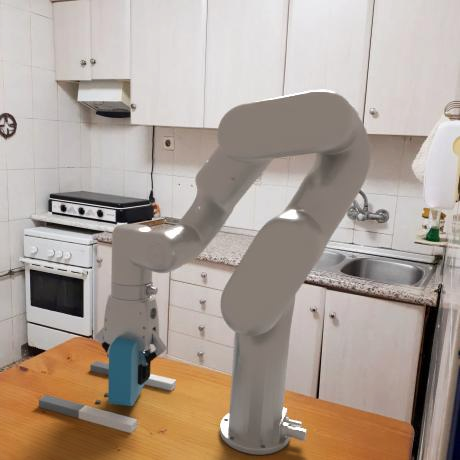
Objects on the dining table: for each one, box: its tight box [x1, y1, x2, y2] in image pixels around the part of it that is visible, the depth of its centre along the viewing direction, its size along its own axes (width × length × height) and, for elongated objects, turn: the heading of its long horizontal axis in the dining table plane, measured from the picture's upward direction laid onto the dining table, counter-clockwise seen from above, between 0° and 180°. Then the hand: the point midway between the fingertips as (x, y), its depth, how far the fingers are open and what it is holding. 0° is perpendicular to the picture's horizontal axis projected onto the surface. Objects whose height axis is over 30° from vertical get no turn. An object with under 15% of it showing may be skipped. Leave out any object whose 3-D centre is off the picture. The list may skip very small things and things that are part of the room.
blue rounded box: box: [107, 337, 146, 407], centre depth 90 cm, size 12×4×12 cm, turn 176°
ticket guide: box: [38, 360, 177, 434], centre depth 92 cm, size 20×18×2 cm
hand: (129, 377), depth 90 cm, fingers closed on blue rounded box, 5 cm apart
